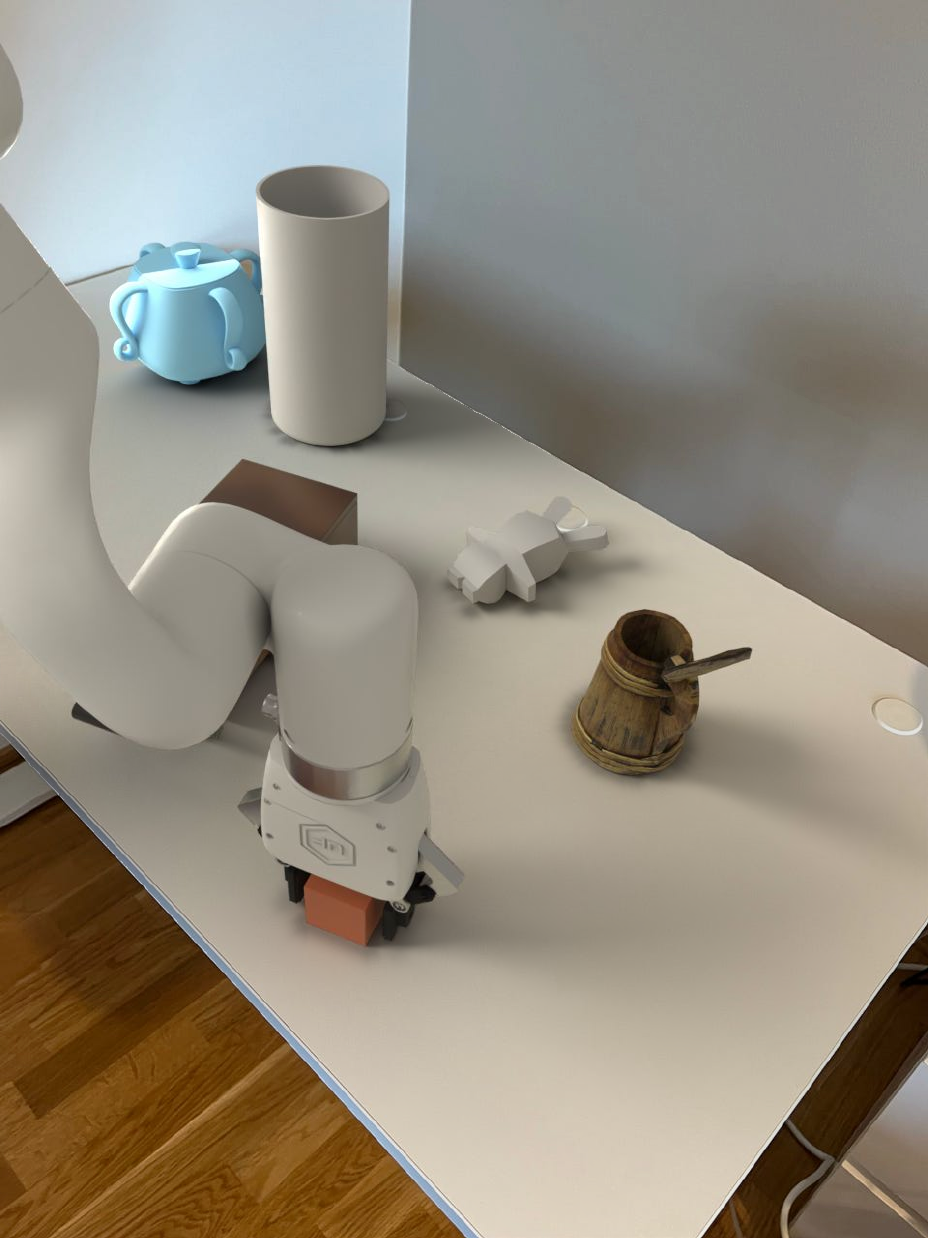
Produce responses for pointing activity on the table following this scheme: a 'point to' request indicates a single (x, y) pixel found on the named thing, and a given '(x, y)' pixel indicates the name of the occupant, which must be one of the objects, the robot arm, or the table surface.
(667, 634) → the wooden mug
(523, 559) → the bunny figurine
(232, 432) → the table surface
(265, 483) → the cabinet
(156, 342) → the decorative pot
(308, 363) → the cylinder vase
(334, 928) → the block
